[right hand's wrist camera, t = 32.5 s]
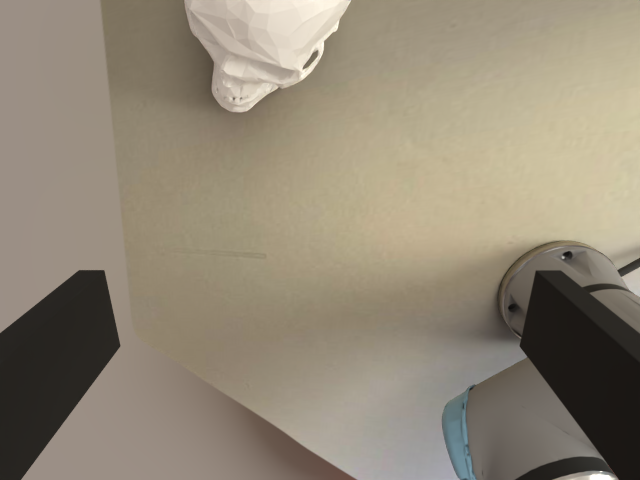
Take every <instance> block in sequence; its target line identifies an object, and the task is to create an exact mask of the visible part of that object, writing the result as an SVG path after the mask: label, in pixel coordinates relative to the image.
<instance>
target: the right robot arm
mask: <svg viewBox="0 0 640 480" xmlns="http://www.w3.org/2000/svg"><path fill="white" fill-rule="evenodd" d="M639 267H640V258H639V259H637V260H635V261H634V262H632V263H630V264H628V265H626V266H624V267H623V268H621V269H619V270H617V269H616V268H615V266H614V265H613V263H612V262H611V261H610V260H609V259H608V258H607V257H606V256H605V255H603V254H602V253H600V252H599V251H597V250H596V249H594V248H592V247H590V246H588V245H586V244H583V243H580V242H574V241H558V242H552V243H548V244H545V245H542V246H539V247H537V248H535V249H533V250H531V251H529V252H528V253H526V254H525V255H523V256H522V257H521V258H520V259H519V260H517V261H516V262H515V263H514V264H513V266H512V267H511V268H510V269H509V270H508V272H507V273H506V275H505V277H504V279H503V281H502V283H501V286H500V289H499V294H498V305H499V310H500V313H501V316H502V318H503V319H504V321H505V322H506V324H507V325H508V326H509V328H510V329H511V330H512V331H513V333H514V334H515V335H516V336H518V337H519V338H520V339H521V342H520V347H521V349H522V350H523V351H524V353H525V354H526V355H527V358H525V359H524V360H522V361H520V362H518V363H516V364H514V365H512V366H511V367H509V368H507V369H505V370H503V371H501V372H500V373H498V374H496V375H494V376H492V377H490V378H489V379H487V380H485V381H483V382H481V383H479V384H477V385H472V386H470V387H469V388H468V389H467V390H466V391H465V392H464V393H462V394H460V395H459V396H457V397H456V398H454V399H452V400H451V401H449V402H448V403H447V404H446V406H445V408H444V412H443V414H442V429H443V435H444V439H445V443H446V447H447V450H448V453H449V456H450V459H451V462H452V465H453V467H454V470H455V472H456V475H457V476H458V478H459V479H460V480H618V479H619V480H640V297H638V296H637V295H635V294H634V293H632V292H631V291H629V289H628V288H627V286H626V284H625V283H624V281H623V279H622V278H621V277H622V276H624V275H626V274H628V273H629V272H631V271H633V270H635V269H637V268H639ZM512 331H511V332H512ZM119 347H120V342H119V337H118V333H117V328H116V323H115V319H114V314H113V309H112V304H111V300H110V295H109V290H108V286H107V281H106V276H105V272H104V270H79V271H78V272H76V273H75V274H74V275H73V276H71V277H70V278H69V279H68V280H66V281H65V282H64V283H63V284H61V285H60V286H59V287H58V288H56V289H55V290H54V291H53V292H51V293H50V294H49V295H48V296H46V297H45V298H44V299H43V300H41V301H40V302H39V303H38V304H36V305H35V306H34V307H33V308H31V309H30V310H29V311H28V312H26V313H25V314H24V315H23V316H21V317H20V318H19V319H17V320H16V321H15V322H14V323H12V324H11V325H10V326H9V327H7V328H6V329H5V330H4V331H2V332H1V333H0V480H21V479H22V478H23V476H24V475H25V474H26V472H27V471H28V469H29V468H30V467H31V465H32V464H33V463H34V461H35V460H36V459H37V457H38V456H39V455H40V453H41V452H42V451H43V449H44V448H45V447H46V445H47V444H48V442H49V441H50V440H51V439H52V437H53V436H54V435H55V433H56V432H57V431H58V429H59V428H60V427H61V425H62V424H63V422H64V421H65V420H66V418H67V417H68V416H69V414H70V413H71V412H72V410H73V409H74V408H75V406H76V405H77V404H78V402H79V401H80V400H81V398H82V397H83V396H84V394H85V393H86V392H87V390H88V389H89V387H90V386H91V385H92V383H93V382H94V381H95V380H96V378H97V377H98V375H99V374H100V373H101V371H102V370H103V369H104V367H105V366H106V365H107V363H108V362H109V361H110V359H111V358H112V357H113V355H114V354H115V353H116V351H117V350H118V349H119ZM608 465H609V466H608ZM610 468H611V469H612V470H611V469H610ZM613 472H614V473H613ZM615 475H616V476H617V477H616V476H615Z"/></svg>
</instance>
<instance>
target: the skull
mask: <svg viewBox="0 0 640 480" xmlns="http://www.w3.org/2000/svg"><path fill="white" fill-rule="evenodd" d="M350 1H351V0H184V2H185V10H186V13H187V17H188V21H189V25H190V29H191V31H192V33H193V35H194V36H196V37H197V38H198V39H199V40H200V42H201V43H202V45H203V46H204V47H205V49H206V50H207V51H208V53H209V54H210V56H211V58H212V59H213V61H214V71H213V76H212V79H213V80H212V93H213V96H214V97H215V99H216V100H217V101H218V103H219V104H220V105H221V107H223V108H225V109H227V110H228V111H230V112H245V111H248V110H249V109H251V108H252V107H253V106H254V105H255V104H256V103H257V102H258V101H260V100H261V99H262V98H263V97H265V96H266V95H268V94H269V93H271V92H273V91H274V90H276V89H277V88H279V87H280V88H281V89H282V88H287V87H289V86H291V85H294V84H296V83H298V82H300V81H301V80H303V79H304V78H305V77H306V76H307V75H308V74H309V73H311V72H312V71H313V69H314V68H315V66H316V65H317V63H318V62H319V60H320V58H321V56H322V54H323V51H324V41H325V40H326V39H327V38H328V37H329V36H330V35H331V34H332V33H333V32H336V30H337V29H338V24H339V20H340V18H341V16H342V15H343V13H344V12H345V10H346V8H347V7H348V5H349V3H350ZM317 50H318V57H317V58H316V59H315V60H314V61H313V63H312V64H311V65H310V66H309V67H307V68H306V69H303V68H302V67H303V66H304V65H305V64H306V62H307V61H308V60H309V58H310V57H311V55H312V53H313V52H315V51H317Z"/></svg>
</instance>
